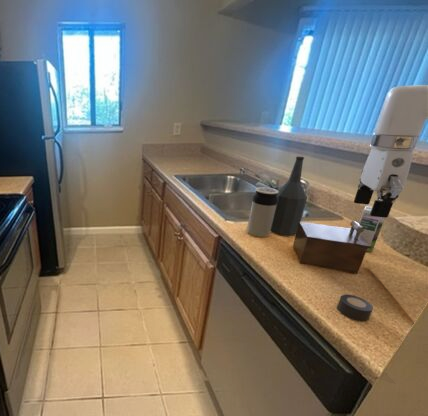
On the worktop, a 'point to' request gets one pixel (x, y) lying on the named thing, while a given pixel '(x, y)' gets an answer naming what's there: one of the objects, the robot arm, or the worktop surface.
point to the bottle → (290, 203)
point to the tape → (355, 307)
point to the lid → (335, 234)
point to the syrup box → (370, 227)
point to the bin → (328, 254)
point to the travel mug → (262, 212)
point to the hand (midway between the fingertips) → (369, 209)
